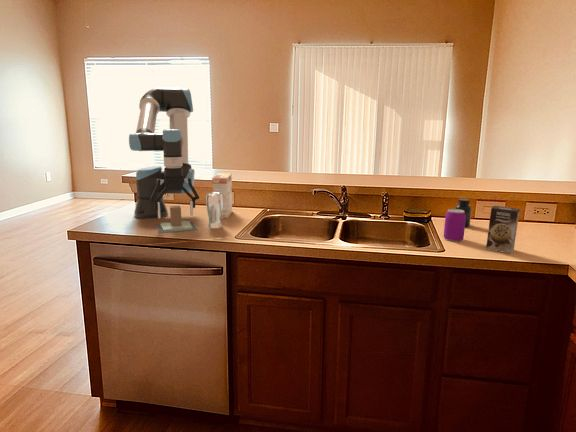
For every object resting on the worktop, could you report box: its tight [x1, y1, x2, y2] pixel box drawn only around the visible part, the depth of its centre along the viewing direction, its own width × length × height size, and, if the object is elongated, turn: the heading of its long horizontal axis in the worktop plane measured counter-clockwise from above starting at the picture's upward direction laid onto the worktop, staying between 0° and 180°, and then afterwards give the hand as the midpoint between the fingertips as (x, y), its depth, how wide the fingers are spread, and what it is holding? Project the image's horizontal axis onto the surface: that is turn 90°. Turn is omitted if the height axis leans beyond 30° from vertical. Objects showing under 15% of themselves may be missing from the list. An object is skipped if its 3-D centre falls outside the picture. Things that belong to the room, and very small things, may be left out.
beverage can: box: [443, 208, 466, 242], centre depth 177 cm, size 8×8×12 cm
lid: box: [159, 205, 193, 232], centre depth 188 cm, size 12×12×9 cm
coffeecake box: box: [211, 172, 233, 219], centre depth 213 cm, size 15×7×20 cm, turn 178°
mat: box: [155, 221, 199, 235], centre depth 189 cm, size 16×16×1 cm
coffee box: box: [485, 205, 521, 254], centre depth 163 cm, size 9×6×16 cm
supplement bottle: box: [454, 198, 472, 228], centre depth 199 cm, size 7×7×12 cm
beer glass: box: [205, 191, 223, 229], centre depth 189 cm, size 7×7×15 cm
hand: (175, 216), depth 187 cm, fingers open, 13 cm apart
